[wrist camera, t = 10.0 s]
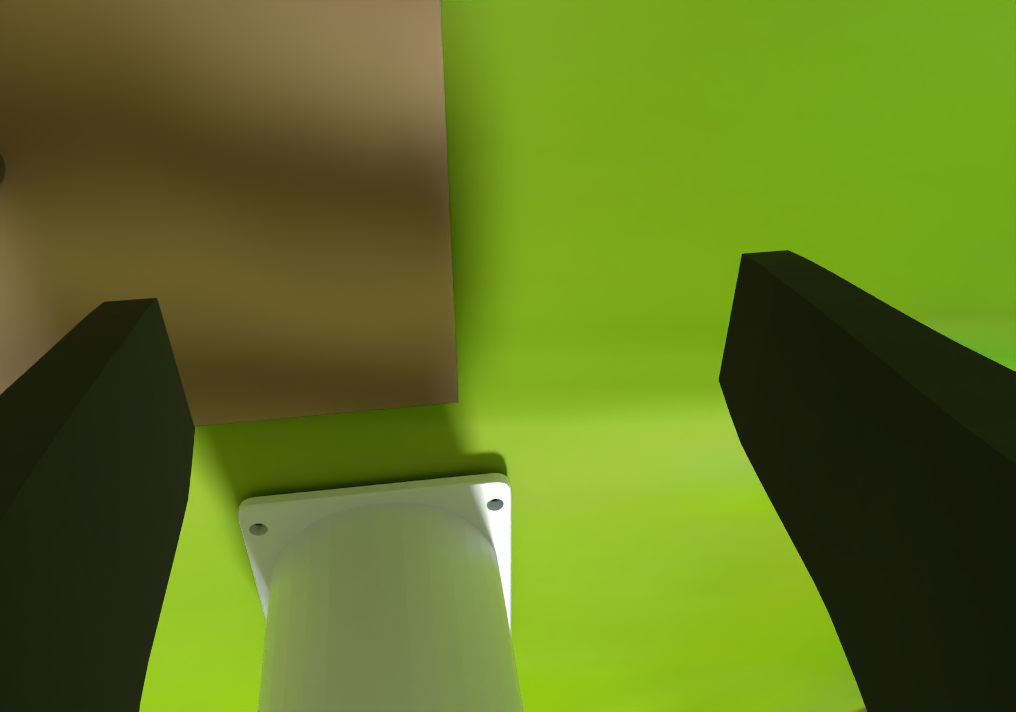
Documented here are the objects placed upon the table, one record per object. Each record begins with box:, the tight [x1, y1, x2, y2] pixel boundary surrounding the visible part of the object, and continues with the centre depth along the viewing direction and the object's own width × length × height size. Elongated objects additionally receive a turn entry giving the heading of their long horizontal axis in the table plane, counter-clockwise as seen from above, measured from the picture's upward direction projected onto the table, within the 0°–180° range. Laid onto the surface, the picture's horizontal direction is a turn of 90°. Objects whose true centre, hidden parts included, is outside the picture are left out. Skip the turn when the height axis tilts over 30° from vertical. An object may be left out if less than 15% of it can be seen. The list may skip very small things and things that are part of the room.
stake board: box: [0, 0, 458, 426], centre depth 16 cm, size 15×16×7 cm
